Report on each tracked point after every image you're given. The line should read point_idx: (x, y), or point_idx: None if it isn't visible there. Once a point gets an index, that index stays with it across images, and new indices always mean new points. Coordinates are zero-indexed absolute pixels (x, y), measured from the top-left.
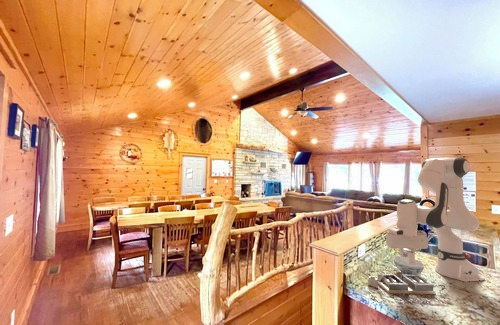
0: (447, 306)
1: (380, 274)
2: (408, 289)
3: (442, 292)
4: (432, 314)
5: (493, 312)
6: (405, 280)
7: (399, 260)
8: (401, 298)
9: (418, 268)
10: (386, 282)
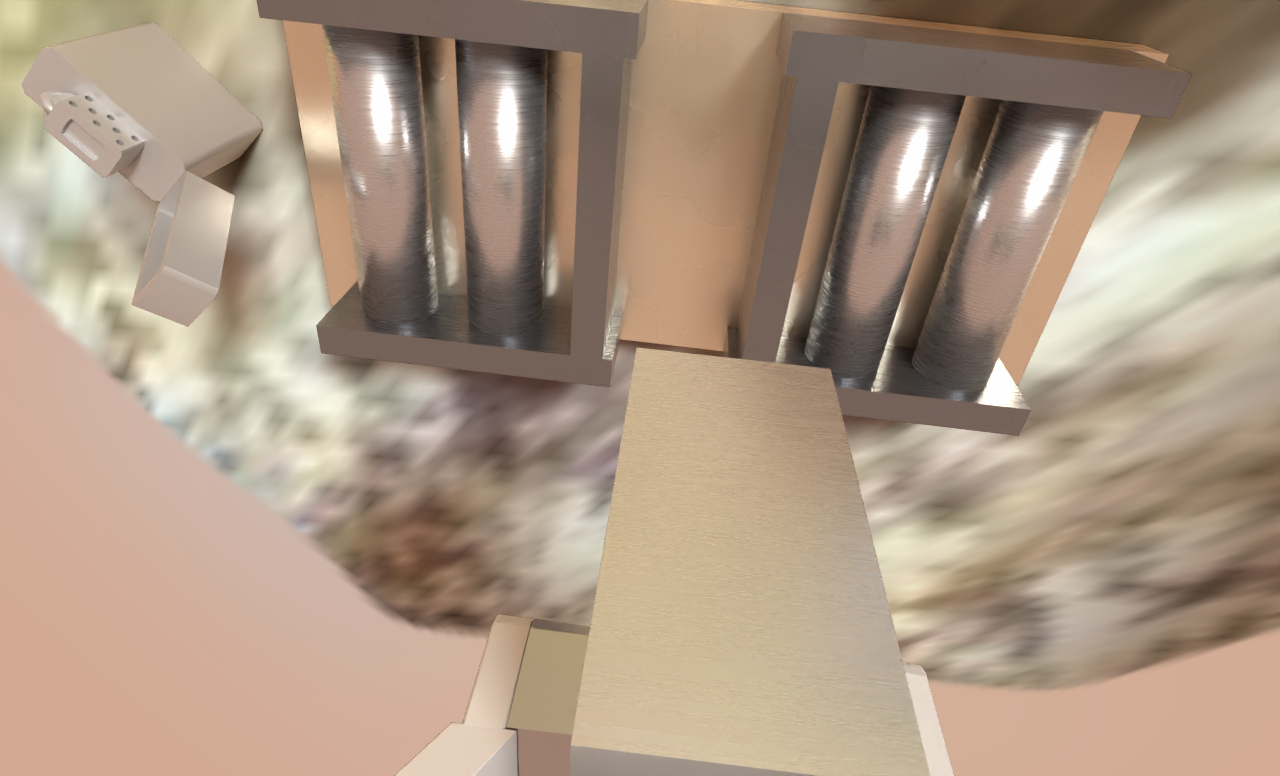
0: None
1: (132, 302)
2: (645, 319)
3: (1169, 335)
4: (583, 598)
5: (1213, 640)
6: (775, 148)
7: None
8: (455, 395)
9: None
10: (349, 209)
